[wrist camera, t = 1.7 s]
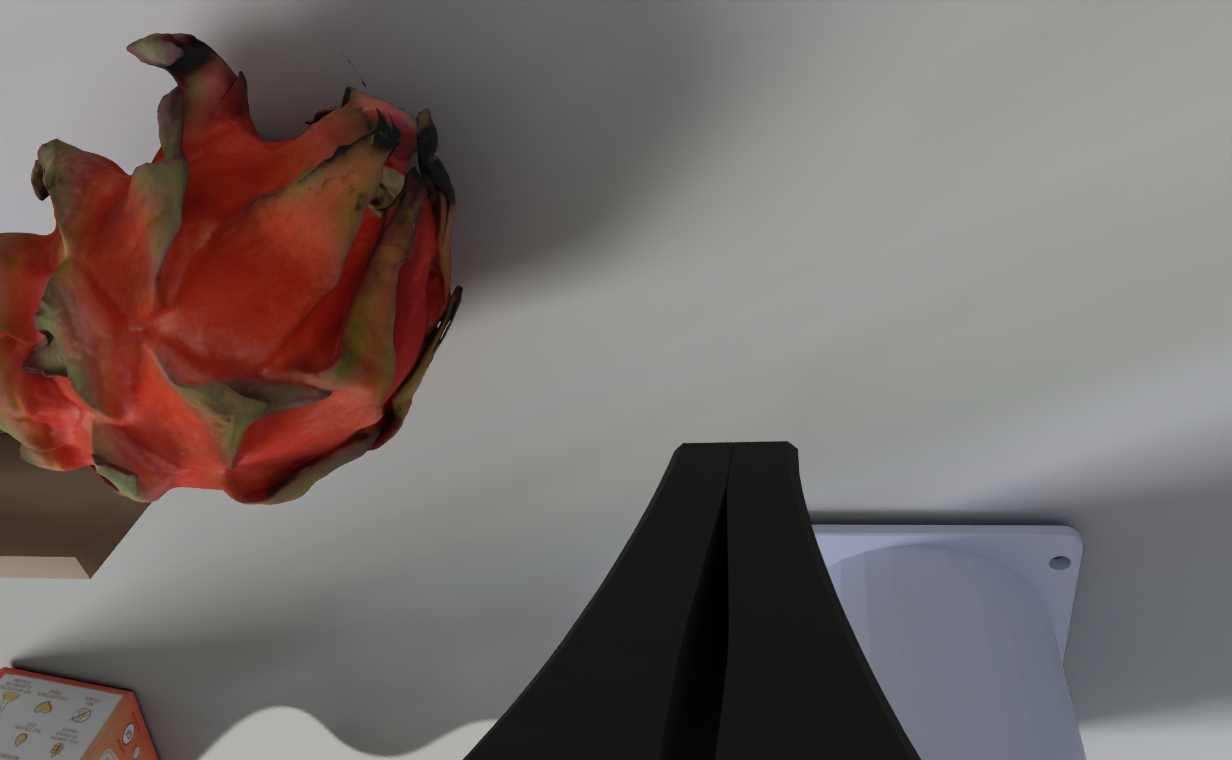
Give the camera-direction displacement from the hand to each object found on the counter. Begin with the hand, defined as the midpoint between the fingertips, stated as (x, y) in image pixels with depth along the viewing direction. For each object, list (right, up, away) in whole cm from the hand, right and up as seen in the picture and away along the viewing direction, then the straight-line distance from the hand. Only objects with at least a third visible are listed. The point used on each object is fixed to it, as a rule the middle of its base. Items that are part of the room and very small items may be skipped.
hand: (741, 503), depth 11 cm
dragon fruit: (-9, +6, +11) cm, 15 cm away
